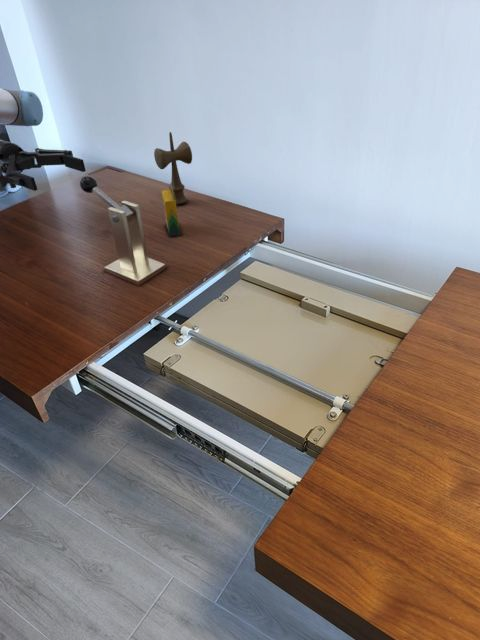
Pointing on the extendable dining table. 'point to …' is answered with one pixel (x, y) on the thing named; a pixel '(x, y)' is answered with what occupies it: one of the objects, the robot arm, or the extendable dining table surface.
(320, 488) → the extendable dining table surface
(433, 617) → the extendable dining table surface
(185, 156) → the kendama
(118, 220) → the switch bracket
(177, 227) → the crayon box
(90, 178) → the lever
